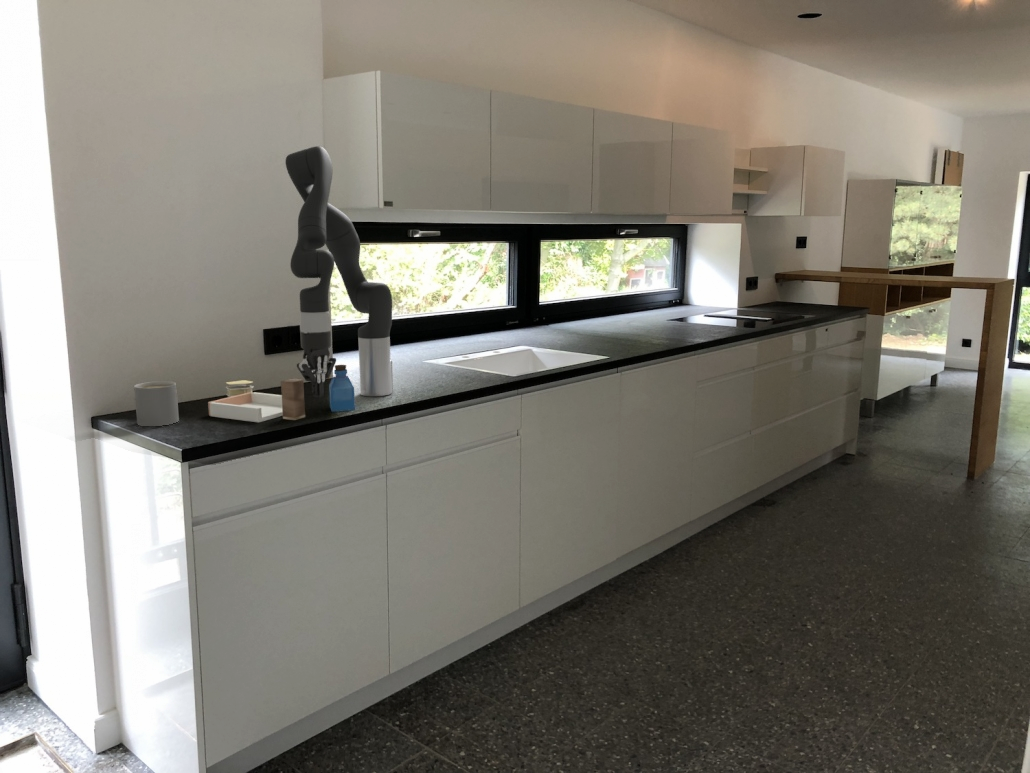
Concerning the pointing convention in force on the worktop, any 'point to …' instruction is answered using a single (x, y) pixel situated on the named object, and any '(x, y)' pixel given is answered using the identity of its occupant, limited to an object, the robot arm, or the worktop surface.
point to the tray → (248, 407)
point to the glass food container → (239, 388)
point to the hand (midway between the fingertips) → (318, 396)
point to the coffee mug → (156, 403)
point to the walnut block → (293, 399)
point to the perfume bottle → (341, 391)
